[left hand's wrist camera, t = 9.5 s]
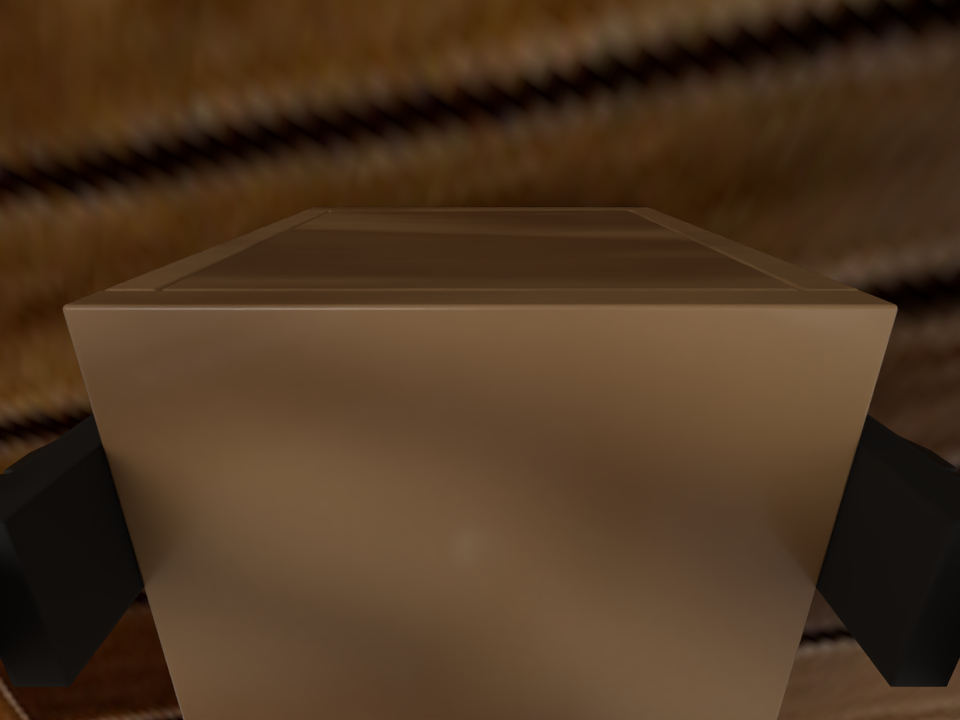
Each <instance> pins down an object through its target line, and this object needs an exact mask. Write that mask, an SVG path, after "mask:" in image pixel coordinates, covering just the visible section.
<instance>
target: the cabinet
mask: <svg viewBox="0 0 960 720" xmlns="http://www.w3.org/2000/svg"><path fill="white" fill-rule="evenodd" d="M897 310H898V309H897V306H896V305H895V304H892V303H890V302H887V301H885V300H882V299H880V298H877V297H875V296H872V295H870V294H867V293H864V292H862V291H858V289H856V288H853V287H851V286H848V285H845V284H843V283H840V282H838V281H835V280H833V279H830V278H828V277H825V276H822V275H820V274H817V273H815V272H812V271H810V270H807V269H805V268H802V267H799V266H797V265H794V264H792V263H789V262H787V261H784V260H781V259H779V258H776V257H774V256H771V255H769V254H766V253H764V252H761V251H758V250H756V249H753V248H751V247H748V246H746V245H743V244H741V243H738V242H735V241H733V240H730V239H728V238H725V237H723V236H720V235H717V234H715V233H712V232H710V231H707V230H705V229H702V228H700V227H697V226H694V225H692V224H689V223H687V222H684V221H682V220H679V219H677V218H674V217H671V216H669V215H666V214H664V213H661V212H659V211H656V210H653V209H651V208H648V207H313V208H310V209H308V210H305V211H303V212H301V213H298V214H296V215H293V216H291V217H288V218H286V219H283V220H281V221H278V222H276V223H273V224H270V225H268V226H265V227H263V228H260V229H258V230H255V231H253V232H250V233H248V234H245V235H242V236H240V237H237V238H235V239H232V240H230V241H227V242H225V243H222V244H220V245H217V246H215V247H212V248H209V249H207V250H204V251H202V252H199V253H197V254H194V255H192V256H189V257H187V258H184V259H181V260H179V261H176V262H174V263H171V264H169V265H166V266H164V267H161V268H159V269H156V270H154V271H151V272H148V273H146V274H143V275H141V276H138V277H136V278H133V279H131V280H128V281H126V282H123V283H121V284H118V285H115V286H113V287H110V288H108V289H106V290H105V291H99V292H96V293H94V294H91V295H89V296H86V297H84V298H81V299H79V300H76V301H73V302H71V303H68V304H66V305H64V306H63V312H64V316H65V319H66V322H67V326H68V329H69V333H70V336H71V339H72V343H73V346H74V350H75V353H76V356H77V360H78V363H79V367H80V370H81V373H82V377H83V380H84V384H85V387H86V390H87V394H88V397H89V400H90V404H91V407H92V411H93V414H94V417H95V421H96V424H97V428H98V431H99V434H100V438H101V441H102V445H103V448H104V451H105V455H106V458H107V462H108V465H109V468H110V472H111V475H112V479H113V482H114V485H115V489H116V492H117V496H118V499H119V502H120V506H121V509H122V513H123V516H124V519H125V523H126V526H127V529H128V533H129V536H130V540H131V543H132V546H133V550H134V553H135V557H136V560H137V563H138V567H139V570H140V574H141V577H142V580H143V584H144V587H145V591H146V594H147V597H148V601H149V604H150V608H151V611H152V614H153V618H154V621H155V625H156V628H157V631H158V635H159V638H160V641H161V645H162V648H163V652H164V655H165V658H166V662H167V665H168V669H169V672H170V675H171V679H172V682H173V686H174V689H175V692H176V696H177V699H178V703H179V706H180V709H181V713H182V716H183V720H777V718H778V715H779V712H780V708H781V705H782V701H783V698H784V695H785V691H786V688H787V684H788V681H789V678H790V674H791V671H792V667H793V664H794V661H795V657H796V654H797V650H798V647H799V643H800V640H801V637H802V633H803V630H804V626H805V623H806V620H807V616H808V613H809V609H810V606H811V603H812V599H813V596H814V592H815V589H816V586H817V582H818V579H819V575H820V572H821V569H822V565H823V562H824V558H825V555H826V552H827V548H828V545H829V541H830V538H831V535H832V531H833V528H834V524H835V521H836V518H837V514H838V511H839V507H840V504H841V501H842V497H843V494H844V490H845V487H846V484H847V480H848V477H849V473H850V470H851V467H852V463H853V460H854V456H855V453H856V450H857V446H858V443H859V439H860V436H861V433H862V429H863V426H864V422H865V419H866V416H867V412H868V409H869V405H870V402H871V399H872V395H873V392H874V388H875V385H876V382H877V378H878V375H879V371H880V368H881V365H882V361H883V358H884V354H885V351H886V348H887V344H888V341H889V337H890V334H891V331H892V327H893V324H894V320H895V317H896V314H897Z"/></svg>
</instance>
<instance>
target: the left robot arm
mask: <svg viewBox="0 0 960 720" xmlns="http://www.w3.org/2000/svg"><path fill="white" fill-rule="evenodd" d="M143 588H144V584H143V580H142V577H141V574H140V570H139V567H138V563H137V560H136V557H135V553H134V550H133V546H132V543H131V540H130V536H129V533H128V529H127V526H126V523H125V519H124V516H123V513H122V509H121V506H120V502H119V499H118V496H117V492H116V489H115V485H114V482H113V479H112V475H111V472H110V468H109V465H108V462H107V458H106V455H105V451H104V448H103V445H102V441H101V438H100V434H99V431H98V428H97V424H96V421H95V417H94V414H92V415H91V416H89V417H88V418H86V419H85V420H84V421H82V422H81V423H79V424H78V425H76V426H75V427H74V428H72V429H71V430H69V431H68V432H67V433H65V434H64V435H62V436H61V437H60V438H58V439H57V440H55V441H54V442H52V443H50V444H48V445H45V446H43V447H41V448H39V449H37V450H34V451H32V452H30V453H29V454H27V455H26V456H24V457H23V458H21V459H20V460H19V461H17V462H16V463H14V464H13V465H11V466H10V467H8V468H7V469H6V470H4V474H0V658H1V660H2V662H3V664H4V666H5V669H6V671H7V673H8V675H9V678H10V680H11V682H12V684H13V686H14V687H69V686H70V685H71V684H72V682H73V681H74V680H75V678H76V677H77V676H78V674H79V673H80V672H81V670H82V669H83V668H84V666H85V665H86V664H87V662H88V661H89V660H90V658H91V657H92V656H93V654H94V653H95V652H96V650H97V649H98V648H99V646H100V645H101V644H102V642H103V641H104V640H105V638H106V637H107V636H108V634H109V633H110V632H111V630H112V629H113V628H114V626H115V625H116V624H117V622H118V621H119V620H120V618H121V617H122V616H123V614H124V613H125V612H126V610H127V609H128V608H129V606H130V605H131V604H132V602H133V601H134V600H135V598H136V597H137V596H138V594H139V593H140V592H141V591H142V589H143ZM816 588H817V589H818V590H819V592H820V593H821V594H822V596H823V597H824V598H825V600H826V601H827V602H828V604H829V605H830V606H831V608H832V609H833V610H834V612H835V613H836V614H837V616H838V617H839V618H840V620H841V621H842V622H843V624H844V625H845V626H846V628H847V629H848V630H849V632H850V633H851V634H852V636H853V637H854V638H855V640H856V641H857V642H858V644H859V645H860V646H861V648H862V649H863V650H864V652H865V653H866V654H867V656H868V657H869V658H870V660H871V661H872V662H873V664H874V665H875V666H876V668H877V669H878V670H879V672H880V673H881V674H882V676H883V677H884V678H885V680H886V681H887V682H888V684H889V685H890V686H891V687H947V685H948V682H949V680H950V678H951V676H952V673H953V671H954V669H955V667H956V665H957V662H958V660H959V658H960V472H957V468H956V467H954V466H953V465H951V464H950V463H948V462H947V461H945V460H944V459H943V458H941V457H940V456H938V455H937V454H935V453H934V452H932V451H931V450H929V449H927V448H924V447H922V446H920V445H918V444H916V443H913V442H911V441H909V440H907V439H905V438H902V437H900V436H898V435H896V434H895V433H894V432H892V431H891V430H889V429H888V428H887V427H885V426H884V425H882V424H881V423H879V422H878V421H877V420H875V419H874V418H872V417H871V416H870V415H868V414H867V416H866V419H865V422H864V426H863V429H862V433H861V436H860V439H859V443H858V446H857V450H856V453H855V456H854V460H853V463H852V467H851V470H850V473H849V477H848V480H847V484H846V487H845V490H844V494H843V497H842V501H841V504H840V507H839V511H838V514H837V518H836V521H835V524H834V528H833V531H832V535H831V538H830V541H829V545H828V548H827V552H826V555H825V558H824V562H823V565H822V569H821V572H820V575H819V579H818V582H817V586H816Z"/></svg>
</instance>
